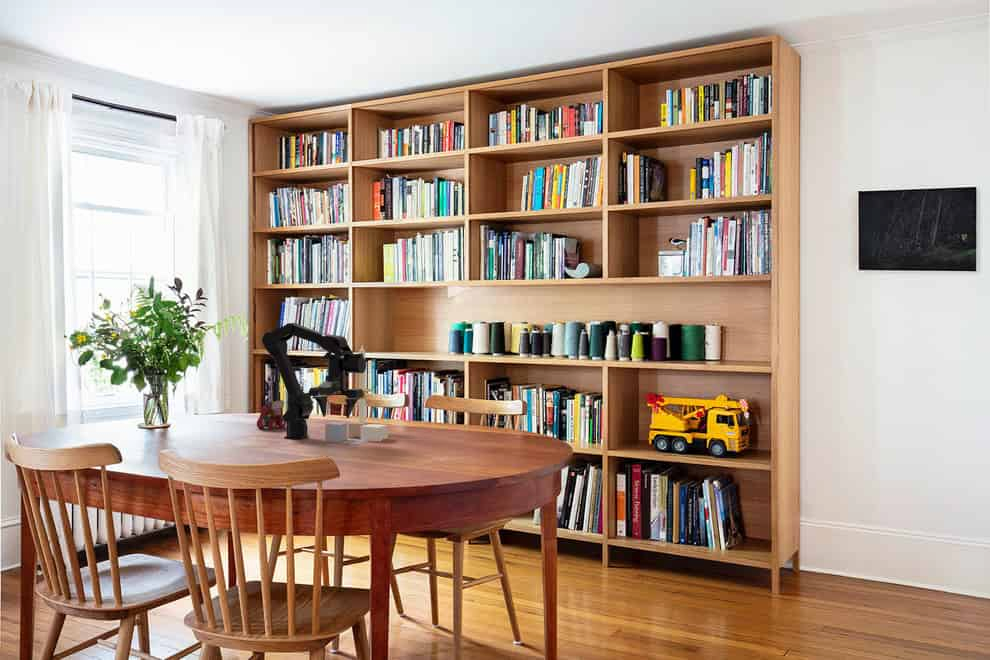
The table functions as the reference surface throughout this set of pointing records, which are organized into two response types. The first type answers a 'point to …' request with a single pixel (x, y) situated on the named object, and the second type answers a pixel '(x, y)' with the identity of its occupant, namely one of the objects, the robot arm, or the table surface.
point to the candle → (362, 386)
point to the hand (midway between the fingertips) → (335, 417)
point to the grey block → (335, 432)
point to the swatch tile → (355, 441)
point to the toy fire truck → (272, 415)
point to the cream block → (374, 432)
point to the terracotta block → (355, 429)
